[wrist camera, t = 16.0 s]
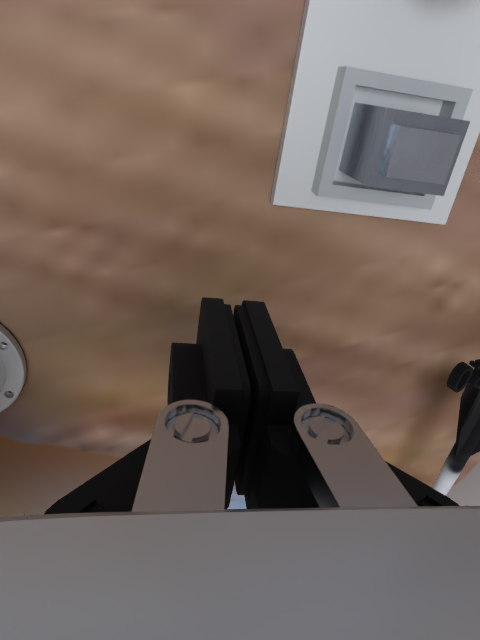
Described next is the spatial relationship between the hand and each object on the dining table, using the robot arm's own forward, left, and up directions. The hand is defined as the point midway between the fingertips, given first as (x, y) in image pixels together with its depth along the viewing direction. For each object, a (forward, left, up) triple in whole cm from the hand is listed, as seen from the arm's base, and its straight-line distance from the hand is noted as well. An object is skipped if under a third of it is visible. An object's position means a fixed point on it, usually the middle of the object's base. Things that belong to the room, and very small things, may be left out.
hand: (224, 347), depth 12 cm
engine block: (+4, -15, -26) cm, 30 cm away
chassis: (+10, -15, -27) cm, 33 cm away
